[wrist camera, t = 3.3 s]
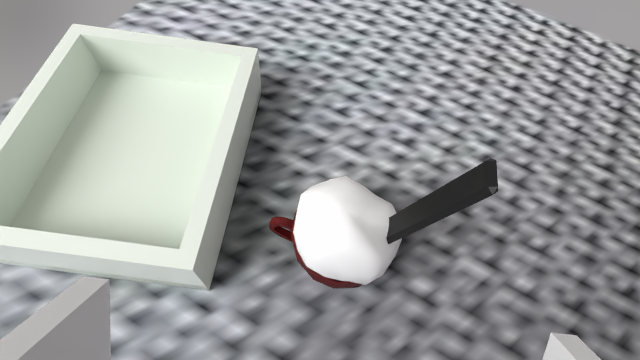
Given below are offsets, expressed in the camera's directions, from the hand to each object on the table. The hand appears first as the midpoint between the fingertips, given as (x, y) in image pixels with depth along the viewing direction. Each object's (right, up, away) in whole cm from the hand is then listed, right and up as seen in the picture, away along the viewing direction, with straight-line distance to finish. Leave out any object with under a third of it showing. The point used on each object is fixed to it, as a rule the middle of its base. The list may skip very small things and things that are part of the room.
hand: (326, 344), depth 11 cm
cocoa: (+1, 0, +14) cm, 14 cm away
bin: (-13, +6, +16) cm, 22 cm away
